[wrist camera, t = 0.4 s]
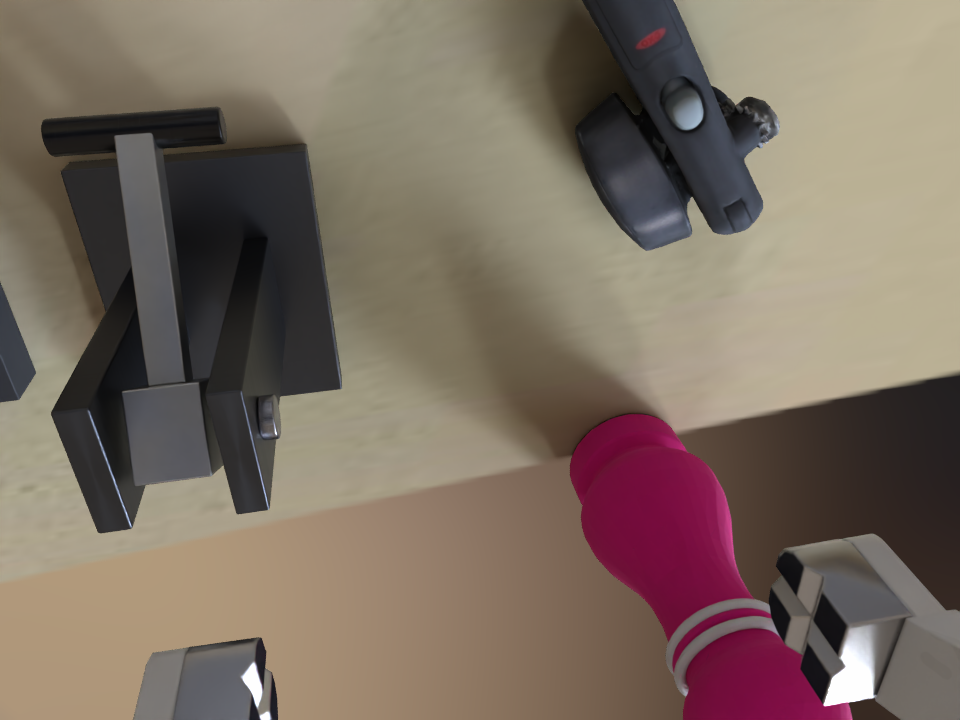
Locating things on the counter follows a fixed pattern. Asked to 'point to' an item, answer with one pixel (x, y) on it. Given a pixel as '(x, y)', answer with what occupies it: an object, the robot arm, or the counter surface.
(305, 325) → the bracket
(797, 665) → the pepper mill
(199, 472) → the lever
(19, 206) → the counter surface
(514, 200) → the counter surface
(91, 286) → the counter surface
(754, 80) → the counter surface
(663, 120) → the can opener
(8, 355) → the control block
